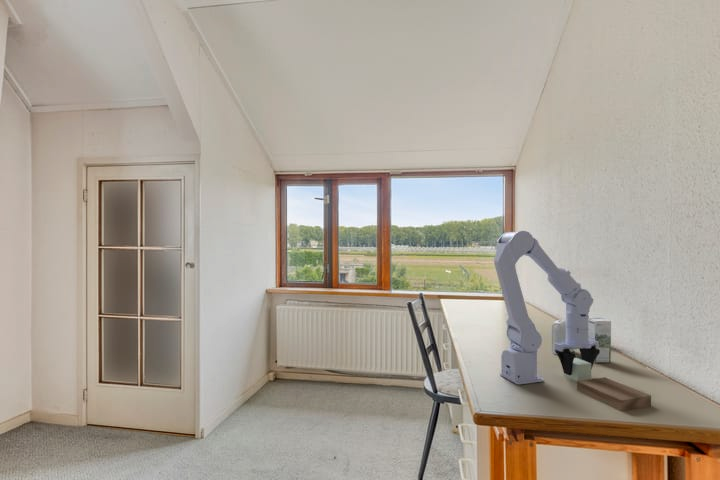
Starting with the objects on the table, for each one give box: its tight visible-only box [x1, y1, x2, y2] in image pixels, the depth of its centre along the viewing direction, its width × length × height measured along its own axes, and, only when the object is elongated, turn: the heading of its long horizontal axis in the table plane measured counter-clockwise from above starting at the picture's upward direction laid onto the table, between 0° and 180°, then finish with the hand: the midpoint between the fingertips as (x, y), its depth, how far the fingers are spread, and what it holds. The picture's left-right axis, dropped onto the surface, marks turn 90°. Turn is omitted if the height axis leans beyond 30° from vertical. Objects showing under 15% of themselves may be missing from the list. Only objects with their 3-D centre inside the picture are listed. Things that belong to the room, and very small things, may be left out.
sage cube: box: [563, 357, 592, 382], centre depth 103 cm, size 5×5×5 cm
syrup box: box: [588, 316, 612, 364], centre depth 118 cm, size 6×6×14 cm
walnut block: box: [576, 376, 652, 412], centre depth 90 cm, size 10×12×3 cm
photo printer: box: [551, 318, 575, 356], centre depth 127 cm, size 10×4×12 cm, turn 123°
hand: (577, 372), depth 103 cm, fingers open, 7 cm apart
